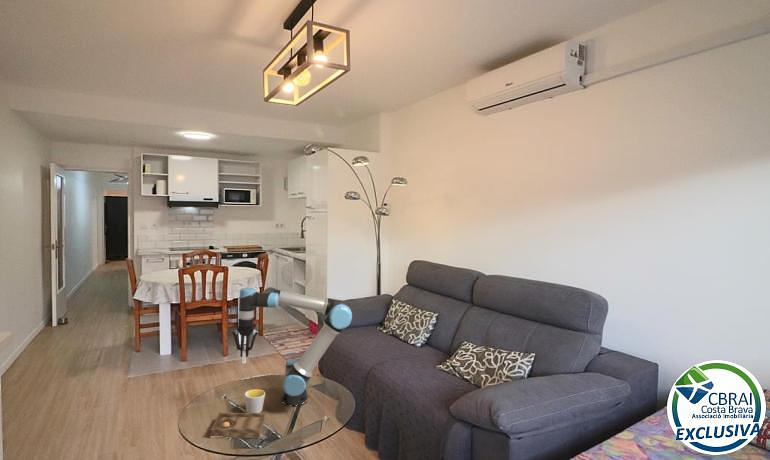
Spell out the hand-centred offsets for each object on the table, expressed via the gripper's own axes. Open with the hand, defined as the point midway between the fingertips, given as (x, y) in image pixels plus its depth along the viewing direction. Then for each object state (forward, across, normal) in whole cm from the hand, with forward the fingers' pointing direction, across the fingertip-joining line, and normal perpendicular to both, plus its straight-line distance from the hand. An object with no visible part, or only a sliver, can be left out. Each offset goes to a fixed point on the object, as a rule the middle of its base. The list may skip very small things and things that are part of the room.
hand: (244, 362), depth 218 cm
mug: (+27, -7, -1) cm, 27 cm away
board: (+26, -2, +17) cm, 31 cm away
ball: (+25, +4, +17) cm, 30 cm away
